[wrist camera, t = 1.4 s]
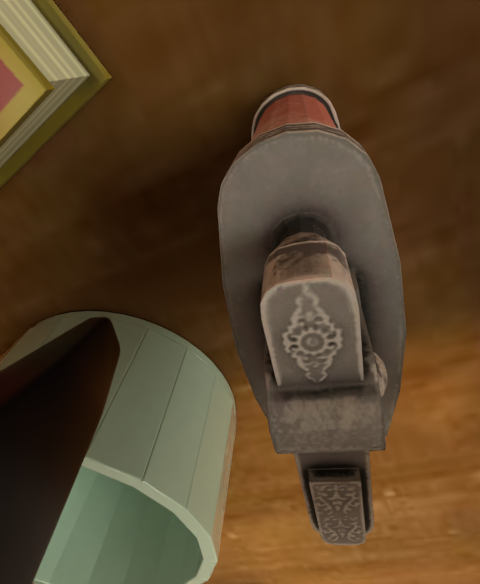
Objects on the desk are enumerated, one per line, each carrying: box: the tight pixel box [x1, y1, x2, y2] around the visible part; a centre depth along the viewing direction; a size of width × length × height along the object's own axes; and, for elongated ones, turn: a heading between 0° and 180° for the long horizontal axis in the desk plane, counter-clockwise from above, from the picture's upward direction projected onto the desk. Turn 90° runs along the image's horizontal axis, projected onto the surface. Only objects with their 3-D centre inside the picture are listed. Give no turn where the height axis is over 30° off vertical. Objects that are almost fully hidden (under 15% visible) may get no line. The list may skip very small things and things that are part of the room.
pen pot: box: [0, 311, 236, 584], centre depth 18 cm, size 13×13×7 cm
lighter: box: [217, 84, 406, 545], centre depth 10 cm, size 8×3×10 cm, turn 13°
